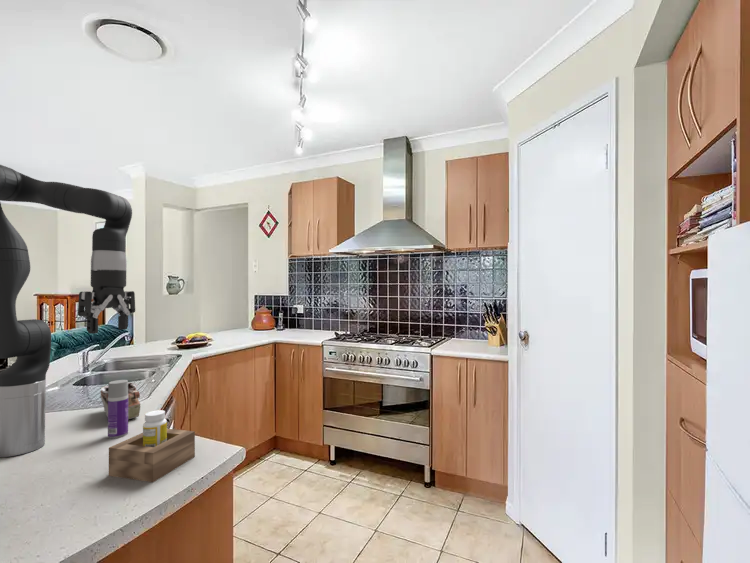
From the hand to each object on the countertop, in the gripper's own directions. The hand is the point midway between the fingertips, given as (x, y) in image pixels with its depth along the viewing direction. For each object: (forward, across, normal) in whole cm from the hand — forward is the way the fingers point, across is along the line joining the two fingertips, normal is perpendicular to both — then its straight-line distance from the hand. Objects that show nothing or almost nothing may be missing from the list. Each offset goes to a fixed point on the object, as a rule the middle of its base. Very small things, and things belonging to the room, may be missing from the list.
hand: (108, 331), depth 94 cm
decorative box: (+30, -22, -20) cm, 42 cm away
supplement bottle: (+27, +6, +19) cm, 33 cm away
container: (+30, -8, -5) cm, 32 cm away
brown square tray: (+30, +6, +19) cm, 37 cm away
